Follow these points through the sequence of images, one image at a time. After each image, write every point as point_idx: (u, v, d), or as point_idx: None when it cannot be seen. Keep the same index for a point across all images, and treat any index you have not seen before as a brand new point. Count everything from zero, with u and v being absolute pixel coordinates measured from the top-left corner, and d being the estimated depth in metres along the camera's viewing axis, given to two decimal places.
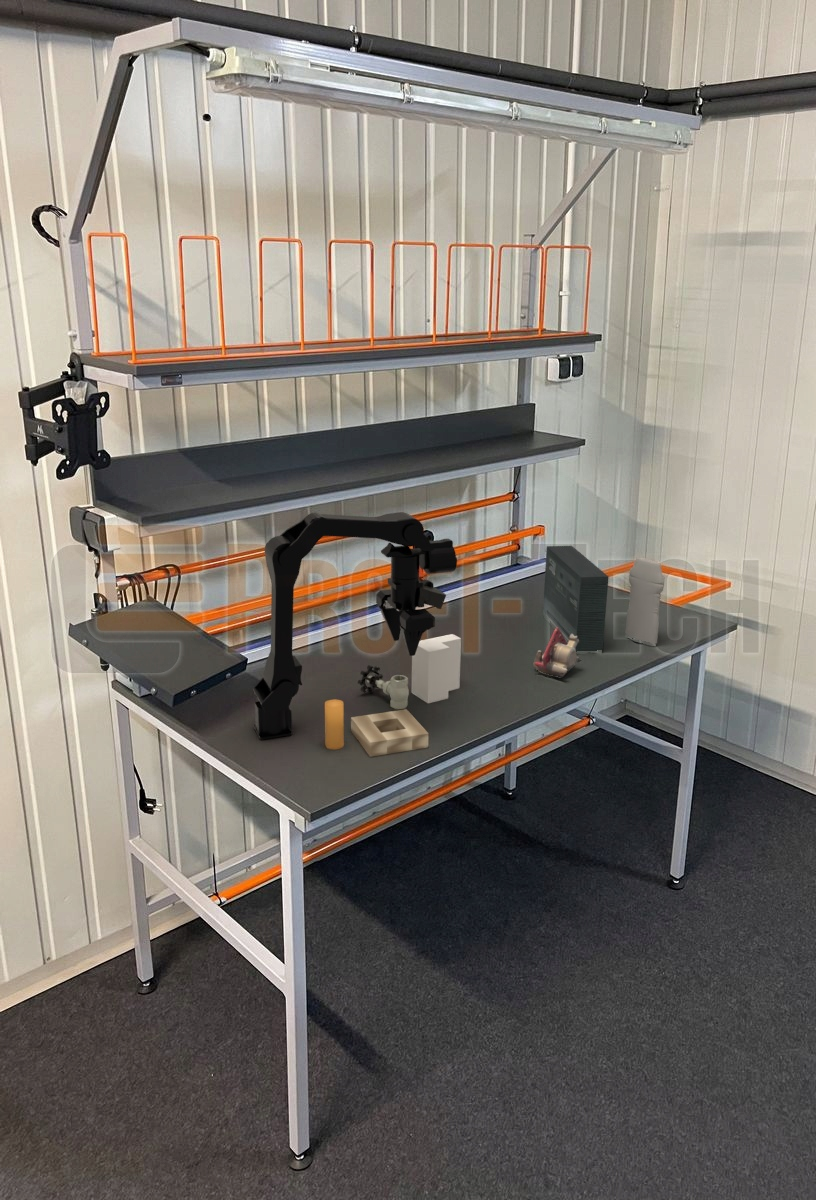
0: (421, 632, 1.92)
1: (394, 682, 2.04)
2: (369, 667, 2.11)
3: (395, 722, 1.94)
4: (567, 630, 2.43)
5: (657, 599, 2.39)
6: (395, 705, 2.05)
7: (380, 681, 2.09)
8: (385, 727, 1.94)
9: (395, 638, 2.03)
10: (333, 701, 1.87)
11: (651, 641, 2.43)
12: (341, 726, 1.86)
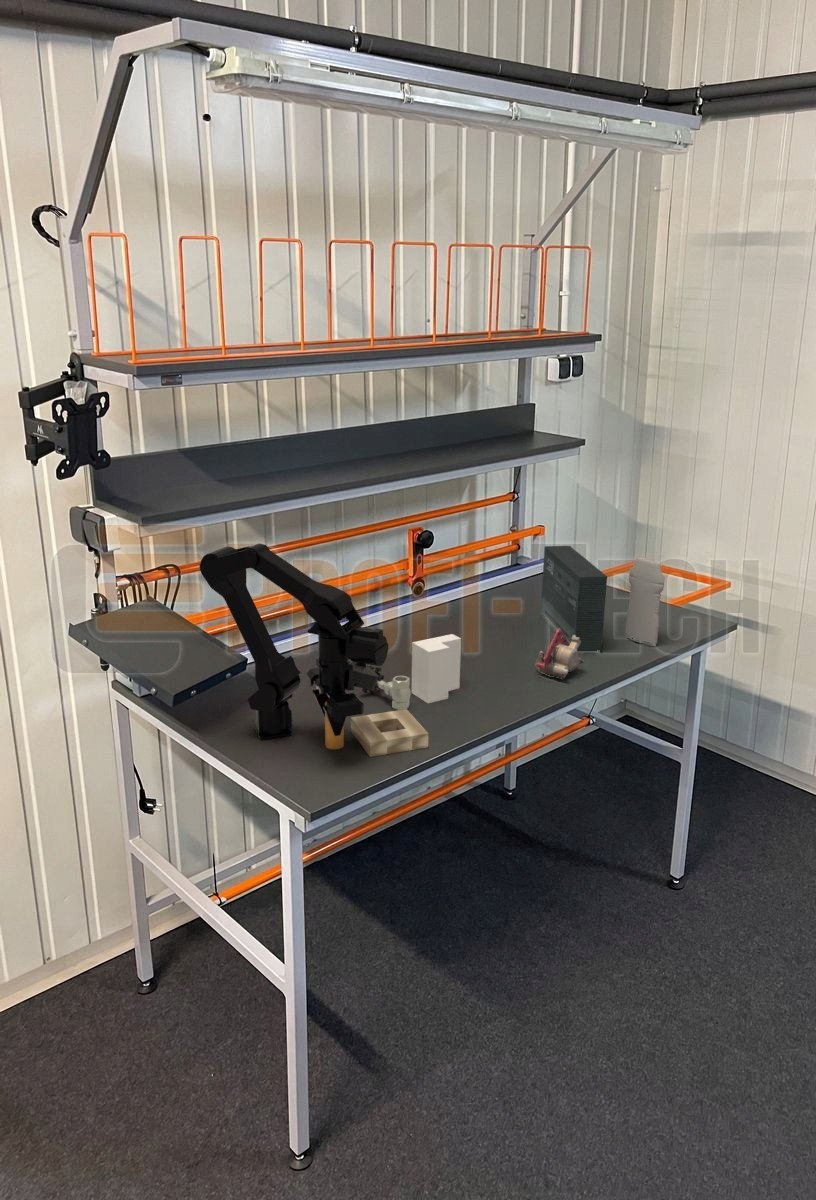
0: None
1: (395, 683, 2.04)
2: None
3: (395, 722, 1.94)
4: (566, 630, 2.43)
5: (657, 599, 2.39)
6: (397, 706, 2.05)
7: (382, 682, 2.09)
8: (385, 727, 1.94)
9: None
10: None
11: (651, 641, 2.43)
12: None
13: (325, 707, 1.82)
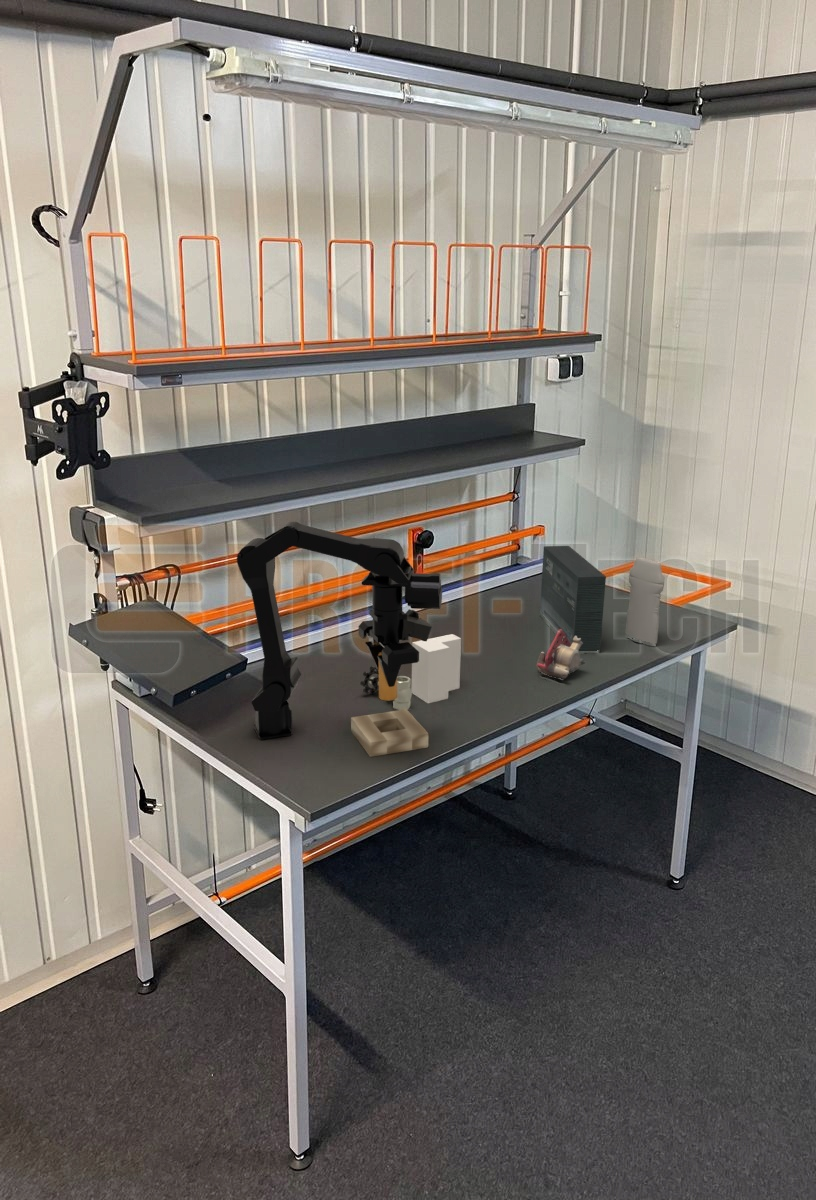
0: None
1: None
2: (372, 668, 2.10)
3: (395, 722, 1.94)
4: (565, 630, 2.43)
5: (657, 599, 2.39)
6: (398, 706, 2.05)
7: None
8: (385, 727, 1.94)
9: None
10: None
11: (651, 641, 2.43)
12: None
13: (380, 657, 1.81)
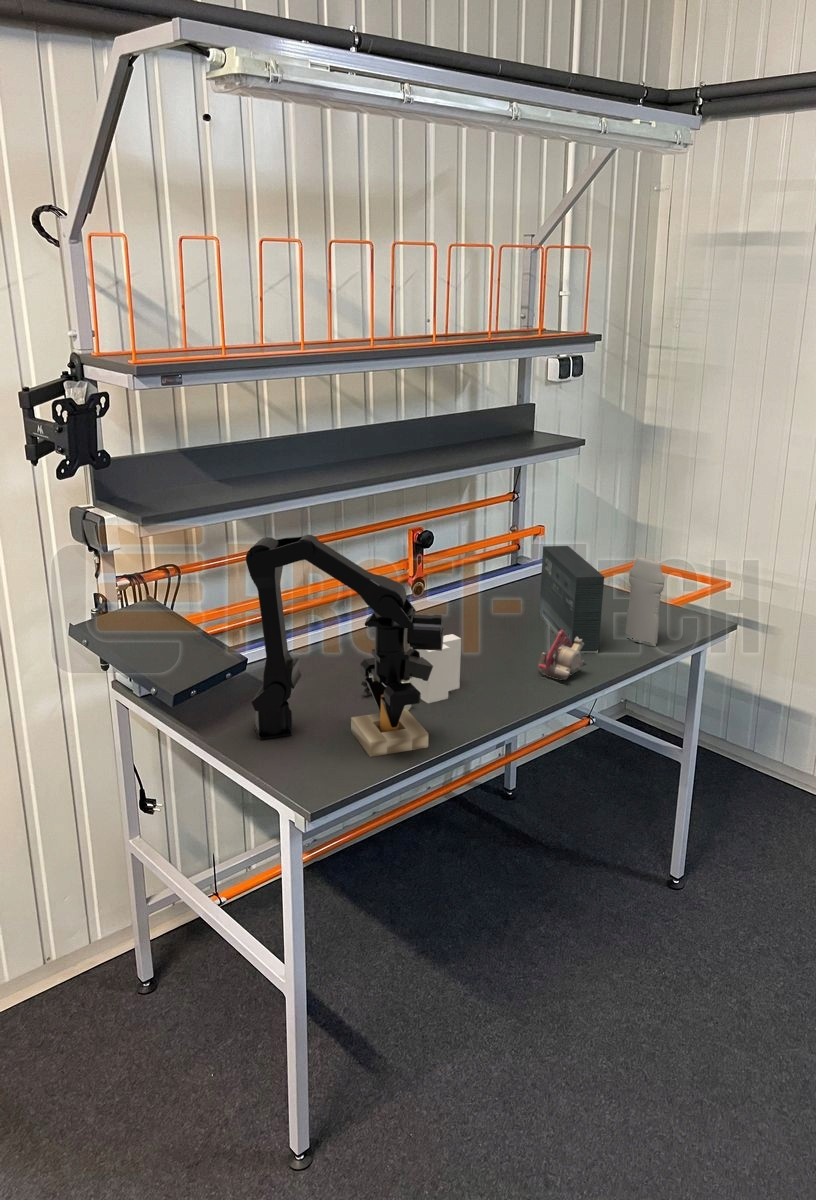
0: None
1: None
2: None
3: None
4: (563, 630, 2.43)
5: (657, 599, 2.39)
6: None
7: None
8: None
9: None
10: None
11: (651, 641, 2.43)
12: None
13: (383, 698, 1.83)
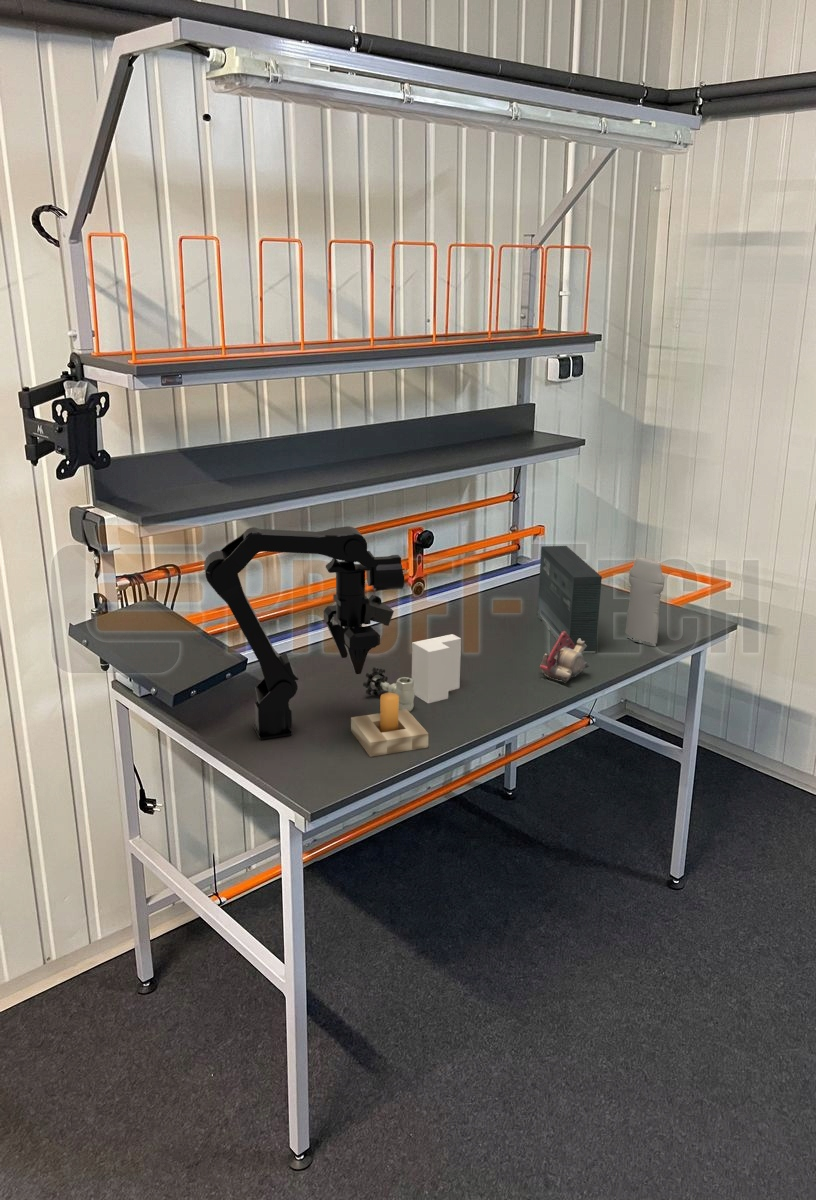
0: (367, 650, 1.87)
1: (399, 684, 2.03)
2: (374, 669, 2.10)
3: None
4: (561, 630, 2.43)
5: (657, 599, 2.39)
6: (401, 707, 2.04)
7: (385, 683, 2.08)
8: None
9: (343, 655, 1.98)
10: (388, 694, 1.89)
11: (651, 641, 2.43)
12: (396, 719, 1.89)
13: (347, 644, 1.85)
